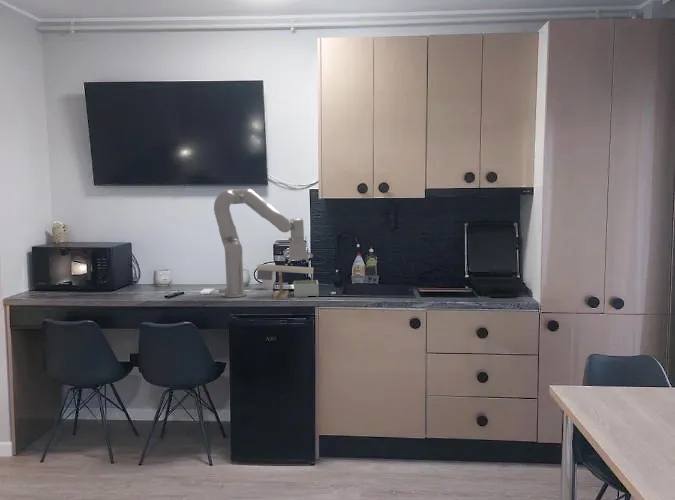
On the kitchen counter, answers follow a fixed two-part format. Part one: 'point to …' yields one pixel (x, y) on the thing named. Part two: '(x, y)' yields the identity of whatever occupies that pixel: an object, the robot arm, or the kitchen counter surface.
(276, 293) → the lever stand
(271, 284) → the foam cup
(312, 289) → the cup
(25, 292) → the kitchen counter surface
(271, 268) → the tipping trough
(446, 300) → the kitchen counter surface
